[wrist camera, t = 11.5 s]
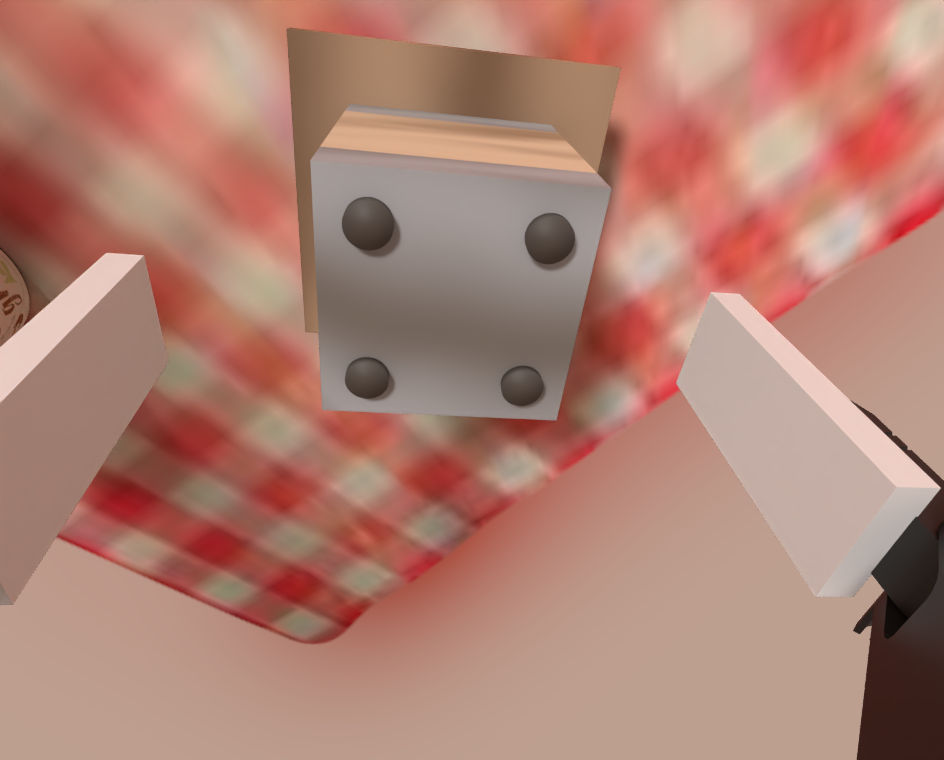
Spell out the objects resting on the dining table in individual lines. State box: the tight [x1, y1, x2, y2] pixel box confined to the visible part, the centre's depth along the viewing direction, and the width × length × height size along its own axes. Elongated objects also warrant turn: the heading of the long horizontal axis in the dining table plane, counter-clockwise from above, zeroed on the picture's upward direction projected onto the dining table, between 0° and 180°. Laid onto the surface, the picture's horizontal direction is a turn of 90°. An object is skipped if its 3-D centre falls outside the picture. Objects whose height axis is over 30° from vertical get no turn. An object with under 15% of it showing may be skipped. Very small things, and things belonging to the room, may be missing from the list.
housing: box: [310, 104, 612, 420], centre depth 18 cm, size 7×7×8 cm
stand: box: [287, 28, 621, 333], centre depth 23 cm, size 11×11×3 cm
